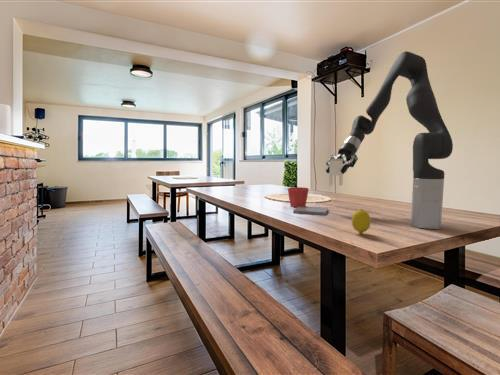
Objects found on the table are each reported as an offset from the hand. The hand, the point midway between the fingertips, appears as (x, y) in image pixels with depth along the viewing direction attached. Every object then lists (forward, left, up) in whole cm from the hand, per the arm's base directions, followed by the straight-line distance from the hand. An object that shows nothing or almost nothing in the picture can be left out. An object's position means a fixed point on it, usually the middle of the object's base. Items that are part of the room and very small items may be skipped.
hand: (334, 172), depth 127 cm
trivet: (-2, +10, -18) cm, 21 cm away
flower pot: (+12, +19, -19) cm, 29 cm away
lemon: (-38, -11, -19) cm, 44 cm away
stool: (+1, -1, -6) cm, 6 cm away
